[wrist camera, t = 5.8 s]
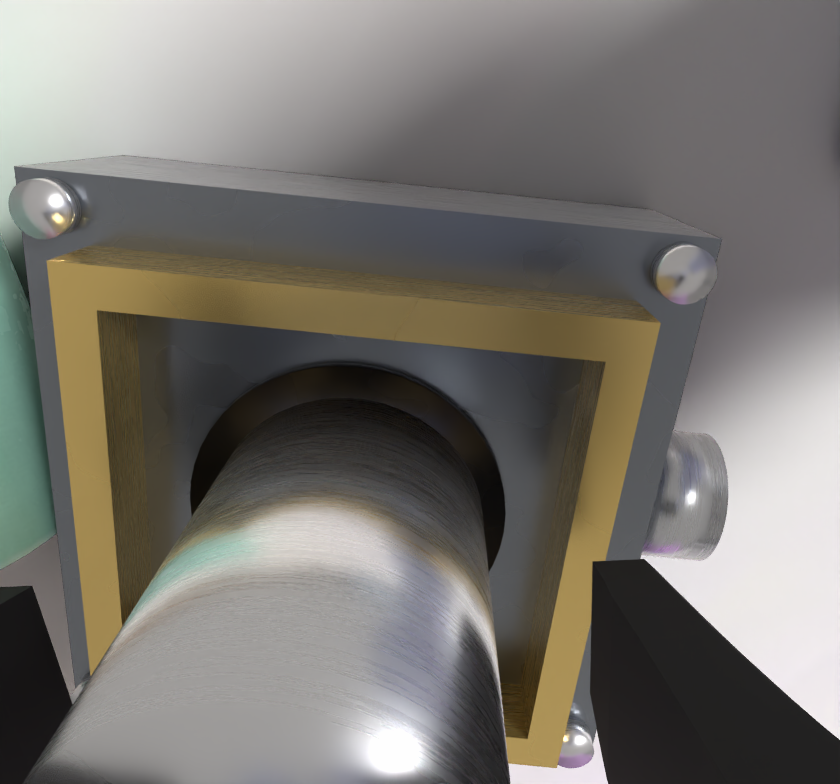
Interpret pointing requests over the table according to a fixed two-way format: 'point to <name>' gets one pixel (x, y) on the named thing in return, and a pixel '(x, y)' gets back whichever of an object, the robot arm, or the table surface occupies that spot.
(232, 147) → the table surface
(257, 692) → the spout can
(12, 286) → the mint green cylinder
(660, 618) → the robot arm
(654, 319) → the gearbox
